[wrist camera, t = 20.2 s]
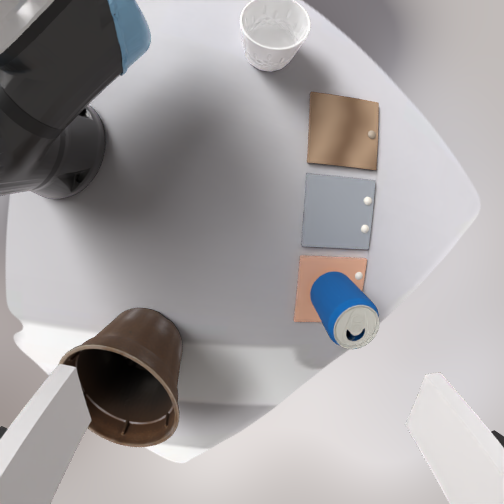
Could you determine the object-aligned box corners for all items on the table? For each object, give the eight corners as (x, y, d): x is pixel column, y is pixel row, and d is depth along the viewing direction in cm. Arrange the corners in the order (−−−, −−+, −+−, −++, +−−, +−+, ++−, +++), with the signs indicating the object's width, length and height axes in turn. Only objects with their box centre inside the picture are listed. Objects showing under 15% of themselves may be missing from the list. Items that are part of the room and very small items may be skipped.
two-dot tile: (301, 244, 44) (302, 246, 44) (306, 173, 42) (307, 173, 41) (366, 248, 45) (368, 249, 44) (373, 180, 43) (376, 180, 42)
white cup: (229, 42, 37) (227, 10, 27) (277, 20, 36) (286, -14, 27) (258, 84, 39) (263, 60, 29) (307, 61, 38) (324, 34, 28)
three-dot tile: (293, 319, 47) (294, 322, 46) (300, 255, 45) (301, 257, 44) (355, 319, 48) (357, 321, 47) (365, 258, 45) (367, 259, 44)
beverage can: (307, 312, 46) (327, 354, 35) (310, 270, 45) (332, 303, 33) (349, 309, 46) (378, 349, 35) (353, 269, 45) (386, 300, 33)
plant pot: (85, 306, 46) (34, 356, 30) (172, 281, 45) (141, 333, 30) (125, 385, 50) (96, 448, 34) (209, 370, 49) (199, 441, 34)
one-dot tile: (307, 162, 42) (308, 162, 41) (310, 93, 39) (311, 91, 38) (374, 170, 42) (376, 170, 41) (376, 103, 40) (379, 102, 39)
